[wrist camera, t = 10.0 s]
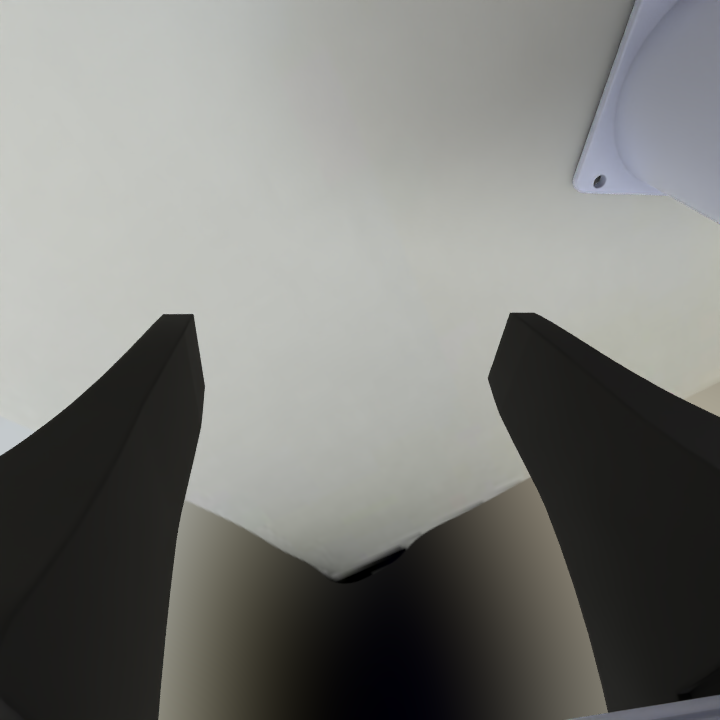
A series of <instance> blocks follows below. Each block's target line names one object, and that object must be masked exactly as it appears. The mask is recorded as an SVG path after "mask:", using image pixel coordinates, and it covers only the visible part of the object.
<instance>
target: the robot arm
mask: <svg viewBox="0 0 720 720" xmlns="http://www.w3.org/2000/svg"><path fill="white" fill-rule="evenodd" d="M600 175H601V179H600V180H599V182H598V183H596V184H594V180H595V179H596V178H597V177H598V176H600ZM572 183H573V187H574V188H575V189H576V190H577V191H579V192H581V193H595V194H631V195H667V196H670V197H672V198H674V199H675V200H677V201H679V202H681V203H683V204H684V205H686V206H688V207H690V208H692V209H693V210H695V211H697V212H699V213H701V214H702V215H704V216H706V217H708V218H710V219H711V220H713V221H715V222H717V223H719V224H720V0H636V1H635V4H634V7H633V9H632V12H631V15H630V18H629V21H628V24H627V26H626V29H625V32H624V35H623V38H622V41H621V44H620V46H619V49H618V52H617V55H616V58H615V61H614V63H613V66H612V69H611V72H610V75H609V78H608V81H607V83H606V86H605V89H604V92H603V95H602V98H601V100H600V103H599V106H598V109H597V112H596V115H595V118H594V120H593V123H592V126H591V129H590V132H589V135H588V137H587V140H586V143H585V146H584V149H583V152H582V155H581V157H580V160H579V163H578V166H577V169H576V172H575V174H574V177H573V182H572ZM593 184H594V185H593ZM488 381H489V384H490V387H491V390H492V394H493V397H494V400H495V403H496V406H497V408H498V411H499V414H500V416H501V418H502V420H503V422H504V424H505V426H506V428H507V430H508V432H509V434H510V436H511V439H512V441H513V443H514V444H515V446H516V448H517V450H518V452H519V454H520V456H521V458H522V460H523V462H524V464H525V466H526V468H527V470H528V472H529V474H530V476H531V478H532V480H533V482H534V484H535V486H536V487H537V490H538V492H539V494H540V496H541V498H542V501H543V503H544V505H545V507H546V510H547V512H548V515H549V518H550V520H551V523H552V525H553V528H554V531H555V534H556V536H557V539H558V541H559V544H560V546H561V550H562V553H563V556H564V559H565V561H566V564H567V567H568V570H569V573H570V576H571V579H572V582H573V585H574V588H575V591H576V595H577V598H578V601H579V604H580V608H581V611H582V614H583V618H584V621H585V624H586V627H587V631H588V634H589V638H590V642H591V645H592V649H593V653H594V657H595V661H596V665H597V669H598V672H599V676H600V680H601V684H602V688H603V692H604V697H605V701H606V705H607V710H608V713H604V714H598V715H592V716H586V717H579V718H573V719H568V720H720V417H718V416H716V415H714V414H712V413H710V412H708V411H706V410H704V409H701V408H699V407H697V406H695V405H693V404H691V403H689V402H687V401H685V400H683V399H681V398H679V397H677V396H675V395H673V394H671V393H669V392H667V391H665V390H664V389H662V388H660V387H658V386H656V385H655V384H653V383H651V382H649V381H648V380H646V379H644V378H642V377H640V376H639V375H637V374H635V373H633V372H632V371H630V370H628V369H627V368H625V367H623V366H622V365H620V364H618V363H617V362H615V361H613V360H612V359H610V358H608V357H607V356H605V355H604V354H602V353H600V352H599V351H597V350H596V349H594V348H592V347H591V346H589V345H588V344H586V343H585V342H583V341H581V340H580V339H578V338H577V337H575V336H573V335H572V334H570V333H569V332H567V331H565V330H564V329H562V328H561V327H559V326H557V325H556V324H554V323H552V322H551V321H549V320H547V319H545V318H543V317H542V316H540V315H538V314H536V313H510V315H509V317H508V320H507V323H506V326H505V329H504V332H503V335H502V338H501V341H500V344H499V347H498V350H497V353H496V356H495V359H494V361H493V364H492V367H491V370H490V373H489V376H488ZM204 391H205V384H204V378H203V372H202V365H201V359H200V353H199V346H198V340H197V334H196V328H195V321H194V315H193V314H163V315H162V316H161V317H160V318H159V319H158V320H157V321H156V322H155V323H154V324H153V325H152V326H151V327H150V328H149V329H148V330H147V331H146V332H145V333H144V334H143V336H142V337H141V338H140V339H139V340H138V341H137V342H136V343H135V344H134V345H133V346H132V347H131V348H130V349H129V350H128V351H127V352H126V353H125V354H124V355H123V356H122V357H121V358H120V359H119V360H118V361H117V362H116V363H115V364H114V365H113V366H112V367H111V368H110V369H109V370H108V371H107V372H106V373H105V374H104V375H103V376H102V377H101V378H100V379H99V380H98V381H96V382H95V383H94V384H93V385H92V386H91V387H90V388H89V389H87V390H86V391H85V392H84V393H83V394H82V395H81V396H80V397H78V398H77V399H76V400H75V401H74V402H73V403H72V404H70V405H69V406H68V407H67V408H66V409H64V410H63V411H62V412H61V413H59V414H58V415H57V416H56V417H54V418H53V419H52V420H50V421H49V422H48V423H46V424H45V425H44V426H42V427H41V428H40V429H38V430H37V431H36V432H34V433H33V434H32V435H30V436H29V437H28V438H26V439H25V440H24V441H22V442H21V443H19V444H18V445H16V446H15V447H13V448H12V449H10V450H9V451H7V452H6V453H4V454H3V455H1V456H0V720H158V716H159V702H160V689H161V679H162V668H163V657H164V647H165V636H166V626H167V617H168V607H169V598H170V589H171V580H172V571H173V564H174V556H175V547H176V539H177V533H178V527H179V522H180V517H181V512H182V507H183V503H184V499H185V495H186V491H187V486H188V482H189V478H190V473H191V469H192V465H193V460H194V456H195V452H196V447H197V443H198V438H199V434H200V429H201V423H202V413H203V402H204Z"/></svg>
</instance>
